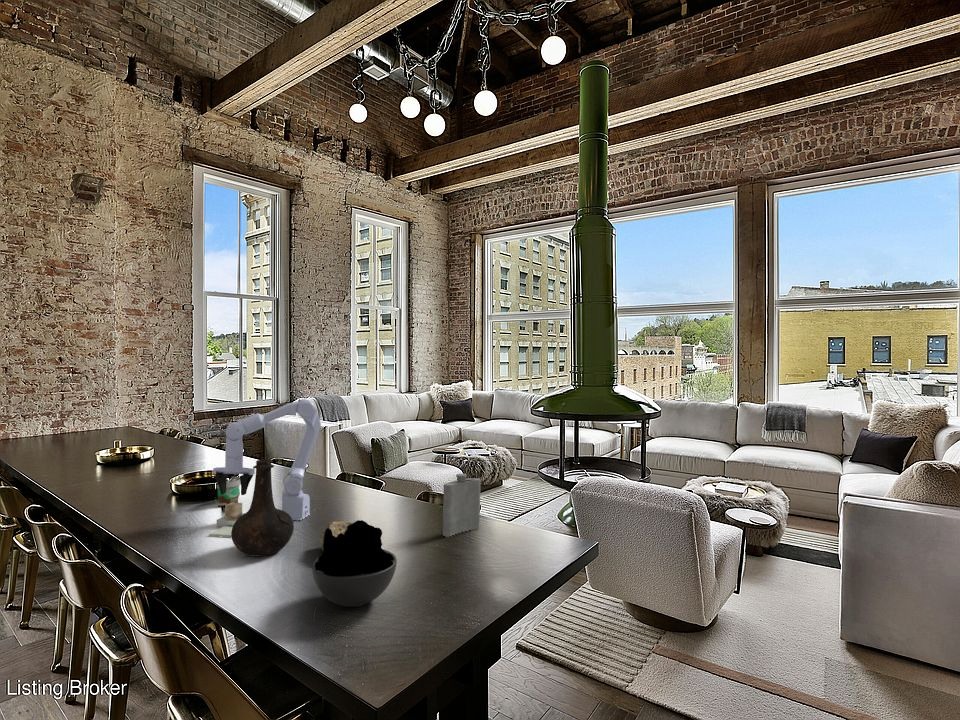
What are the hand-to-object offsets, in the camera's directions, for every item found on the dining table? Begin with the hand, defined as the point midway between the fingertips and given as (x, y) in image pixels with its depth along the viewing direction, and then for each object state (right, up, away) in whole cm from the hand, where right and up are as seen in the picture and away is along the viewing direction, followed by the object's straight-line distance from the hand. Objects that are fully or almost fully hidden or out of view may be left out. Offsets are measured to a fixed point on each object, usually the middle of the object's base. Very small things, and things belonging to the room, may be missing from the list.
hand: (233, 494), depth 184 cm
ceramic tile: (+4, -10, -11) cm, 15 cm away
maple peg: (0, -10, -1) cm, 10 cm away
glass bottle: (+22, -11, -27) cm, 36 cm away
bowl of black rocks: (+58, -11, -59) cm, 84 cm away
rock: (+48, -11, -28) cm, 57 cm away
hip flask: (+82, -12, -5) cm, 83 cm away
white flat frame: (+4, -10, -1) cm, 11 cm away
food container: (-12, -11, +24) cm, 29 cm away
